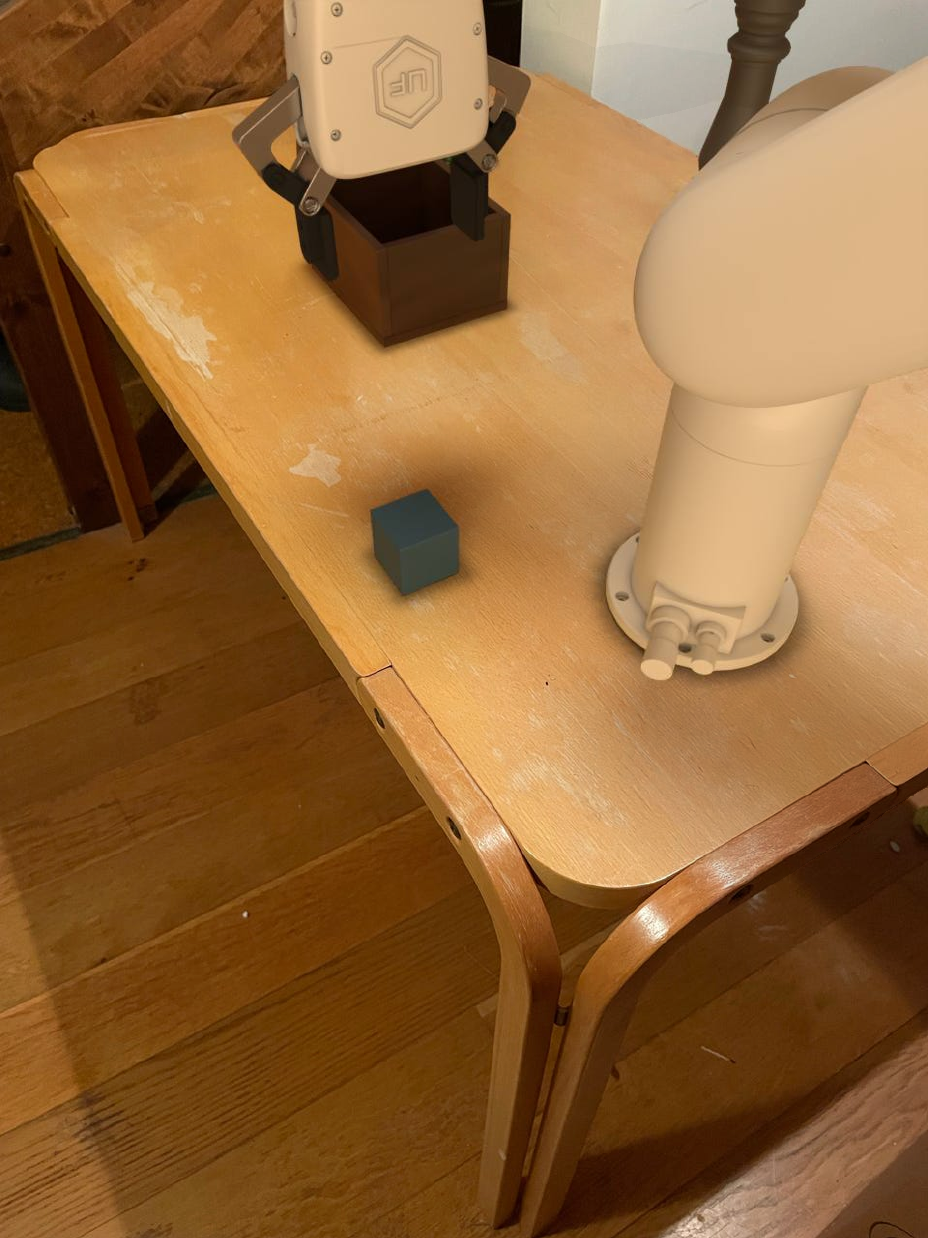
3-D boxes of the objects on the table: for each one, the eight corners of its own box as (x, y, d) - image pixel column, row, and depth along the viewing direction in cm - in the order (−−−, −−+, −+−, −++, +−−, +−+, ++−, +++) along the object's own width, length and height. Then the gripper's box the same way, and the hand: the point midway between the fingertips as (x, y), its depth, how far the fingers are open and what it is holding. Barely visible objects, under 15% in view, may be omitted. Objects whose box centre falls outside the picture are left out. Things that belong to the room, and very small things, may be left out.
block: (459, 572, 62) (459, 527, 58) (403, 596, 60) (399, 551, 57) (429, 533, 64) (427, 487, 61) (374, 555, 63) (369, 509, 59)
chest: (507, 308, 83) (511, 213, 76) (384, 347, 79) (376, 251, 72) (426, 235, 92) (423, 144, 85) (311, 266, 88) (299, 174, 81)
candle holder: (719, 281, 86) (795, -29, 67) (666, 259, 89) (723, -46, 70) (753, 257, 89) (834, -47, 70) (700, 236, 92) (764, -62, 73)
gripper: (219, -58, 37) (286, 317, 50) (574, -110, 42) (550, 243, 55) (168, -97, 41) (242, 258, 54) (496, -140, 46) (491, 194, 59)
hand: (397, 250), depth 55 cm, fingers open, 9 cm apart
